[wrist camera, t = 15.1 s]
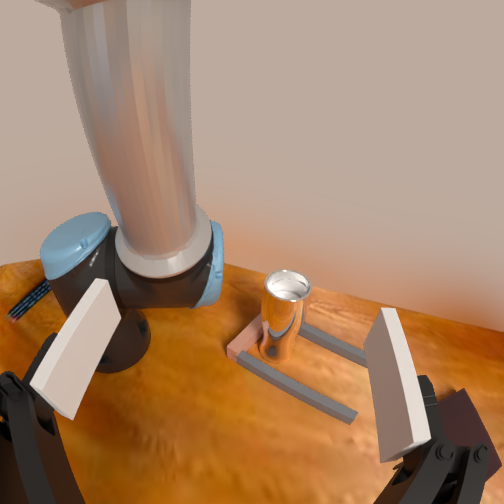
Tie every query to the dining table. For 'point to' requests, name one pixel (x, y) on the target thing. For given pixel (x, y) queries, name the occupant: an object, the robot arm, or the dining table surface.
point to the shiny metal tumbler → (283, 313)
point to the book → (466, 426)
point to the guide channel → (292, 387)
